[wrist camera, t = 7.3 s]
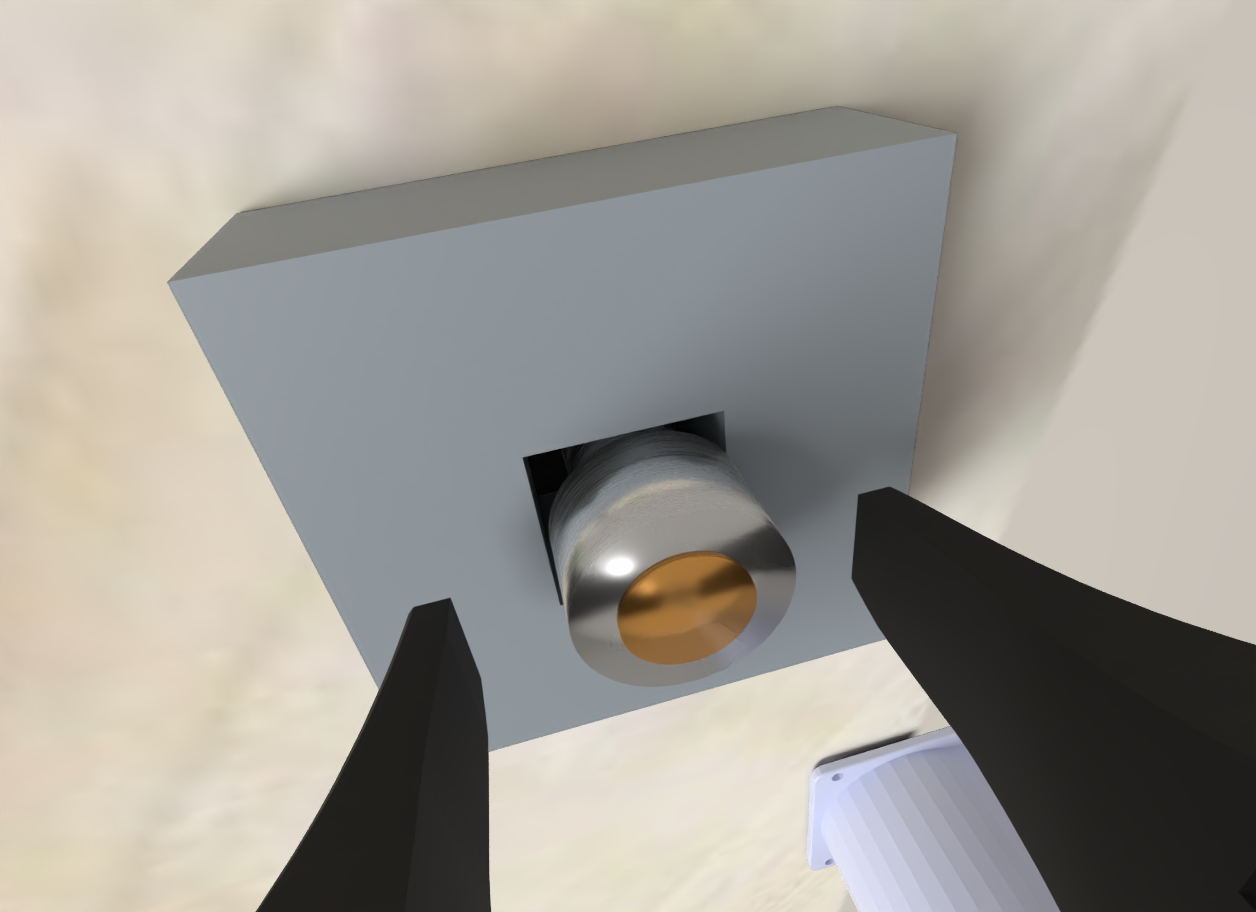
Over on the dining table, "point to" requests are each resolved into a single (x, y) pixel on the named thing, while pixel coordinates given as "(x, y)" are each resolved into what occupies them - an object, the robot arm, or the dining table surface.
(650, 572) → the pin
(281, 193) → the dining table surface
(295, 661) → the dining table surface
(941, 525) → the robot arm
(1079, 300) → the dining table surface
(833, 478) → the block
